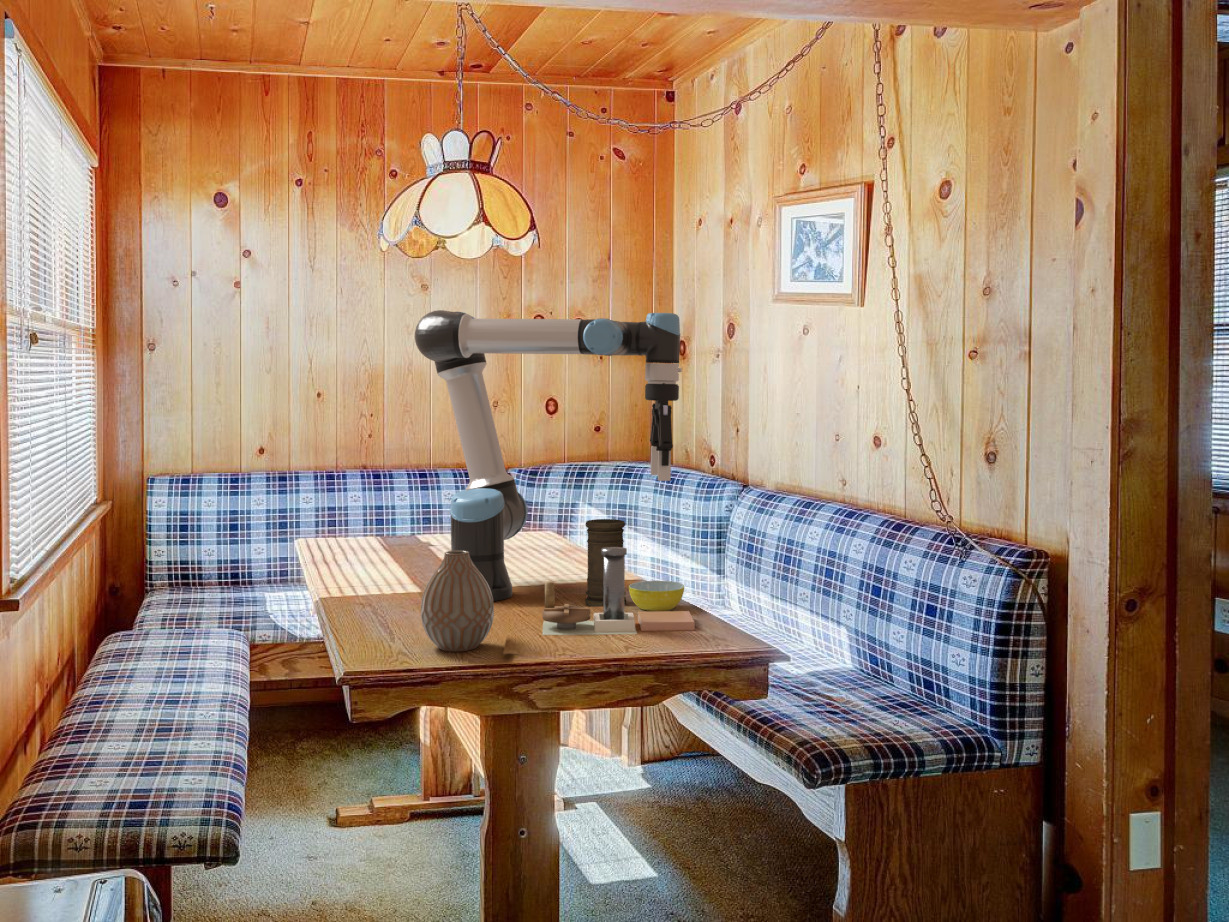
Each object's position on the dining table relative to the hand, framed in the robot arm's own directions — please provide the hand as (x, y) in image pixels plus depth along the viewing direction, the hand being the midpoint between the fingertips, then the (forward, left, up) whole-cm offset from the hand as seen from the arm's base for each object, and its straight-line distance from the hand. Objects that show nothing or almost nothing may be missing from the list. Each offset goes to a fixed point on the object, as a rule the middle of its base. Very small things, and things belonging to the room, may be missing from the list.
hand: (660, 477), depth 267 cm
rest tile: (-2, -41, -26) cm, 48 cm away
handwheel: (-21, -43, -23) cm, 53 cm away
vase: (-41, -52, -26) cm, 71 cm away
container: (-13, -13, -26) cm, 32 cm away
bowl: (-3, -25, -26) cm, 36 cm away
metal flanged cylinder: (-12, -43, -25) cm, 51 cm away
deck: (-17, -43, -26) cm, 53 cm away
